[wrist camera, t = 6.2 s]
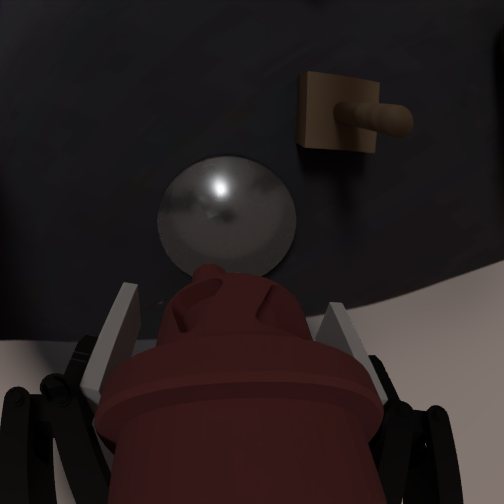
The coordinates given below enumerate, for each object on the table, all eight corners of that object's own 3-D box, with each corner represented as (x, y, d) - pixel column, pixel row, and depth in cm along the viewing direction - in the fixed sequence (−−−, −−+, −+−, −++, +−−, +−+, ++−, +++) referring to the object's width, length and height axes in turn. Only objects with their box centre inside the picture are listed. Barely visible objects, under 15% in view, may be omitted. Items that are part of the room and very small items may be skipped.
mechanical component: (360, 283, 15) (256, 386, 19) (195, 182, 12) (116, 330, 15) (472, 493, 4) (279, 557, 8) (103, 566, 1) (64, 533, 5)
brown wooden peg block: (295, 142, 23) (344, 171, 14) (298, 75, 21) (351, 56, 11) (359, 147, 24) (433, 180, 14) (363, 83, 21) (443, 82, 11)
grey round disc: (153, 263, 28) (150, 271, 26) (174, 140, 22) (171, 143, 21) (270, 285, 30) (272, 294, 29) (310, 174, 25) (314, 178, 24)
